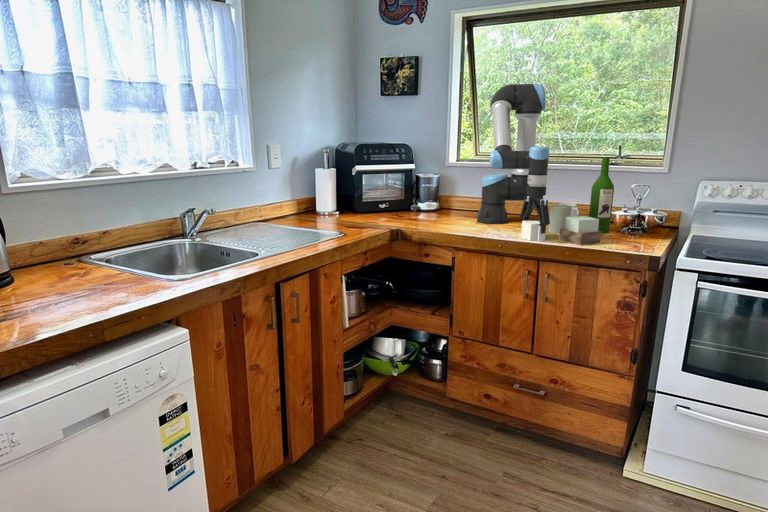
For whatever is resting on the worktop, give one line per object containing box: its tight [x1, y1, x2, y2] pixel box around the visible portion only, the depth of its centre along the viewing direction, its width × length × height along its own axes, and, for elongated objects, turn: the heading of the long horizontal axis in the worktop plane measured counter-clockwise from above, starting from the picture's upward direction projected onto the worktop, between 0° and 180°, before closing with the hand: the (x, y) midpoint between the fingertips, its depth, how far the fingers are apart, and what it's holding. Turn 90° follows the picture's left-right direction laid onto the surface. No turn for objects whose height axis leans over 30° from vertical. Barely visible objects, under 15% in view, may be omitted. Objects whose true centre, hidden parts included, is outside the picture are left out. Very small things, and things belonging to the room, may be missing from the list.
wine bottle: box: [588, 156, 615, 235], centre depth 215 cm, size 9×9×32 cm
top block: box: [565, 215, 599, 233], centre depth 198 cm, size 9×9×5 cm
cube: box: [520, 220, 547, 242], centre depth 205 cm, size 7×7×7 cm
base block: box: [559, 229, 602, 246], centre depth 200 cm, size 11×11×5 cm
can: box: [547, 204, 571, 235], centre depth 218 cm, size 9×9×12 cm
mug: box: [558, 202, 580, 216], centre depth 233 cm, size 8×12×10 cm
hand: (533, 238), depth 205 cm, fingers open, 11 cm apart
